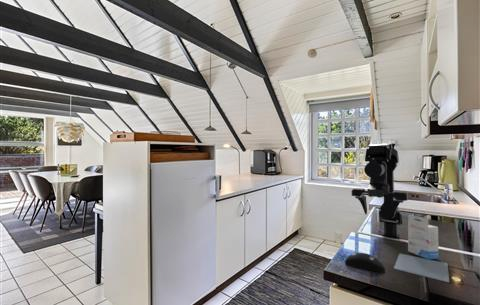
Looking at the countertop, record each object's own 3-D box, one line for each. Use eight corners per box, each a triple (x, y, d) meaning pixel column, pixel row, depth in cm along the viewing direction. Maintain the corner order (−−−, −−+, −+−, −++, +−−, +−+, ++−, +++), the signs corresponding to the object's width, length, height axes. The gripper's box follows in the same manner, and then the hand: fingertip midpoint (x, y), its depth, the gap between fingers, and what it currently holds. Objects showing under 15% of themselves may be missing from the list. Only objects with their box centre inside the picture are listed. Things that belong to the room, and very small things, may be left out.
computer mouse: (382, 276, 75) (382, 264, 75) (343, 265, 82) (343, 254, 82) (386, 268, 80) (386, 256, 80) (349, 258, 88) (349, 248, 88)
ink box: (439, 259, 86) (439, 218, 87) (428, 259, 85) (428, 218, 86) (417, 250, 95) (417, 213, 96) (407, 251, 94) (407, 213, 94)
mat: (399, 254, 91) (399, 253, 91) (447, 264, 83) (447, 263, 83) (393, 268, 79) (393, 268, 79) (449, 282, 70) (449, 281, 70)
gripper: (347, 176, 93) (348, 216, 92) (404, 178, 81) (405, 224, 80) (354, 174, 101) (355, 211, 101) (407, 176, 89) (408, 218, 89)
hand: (379, 215), depth 92 cm, fingers open, 9 cm apart
